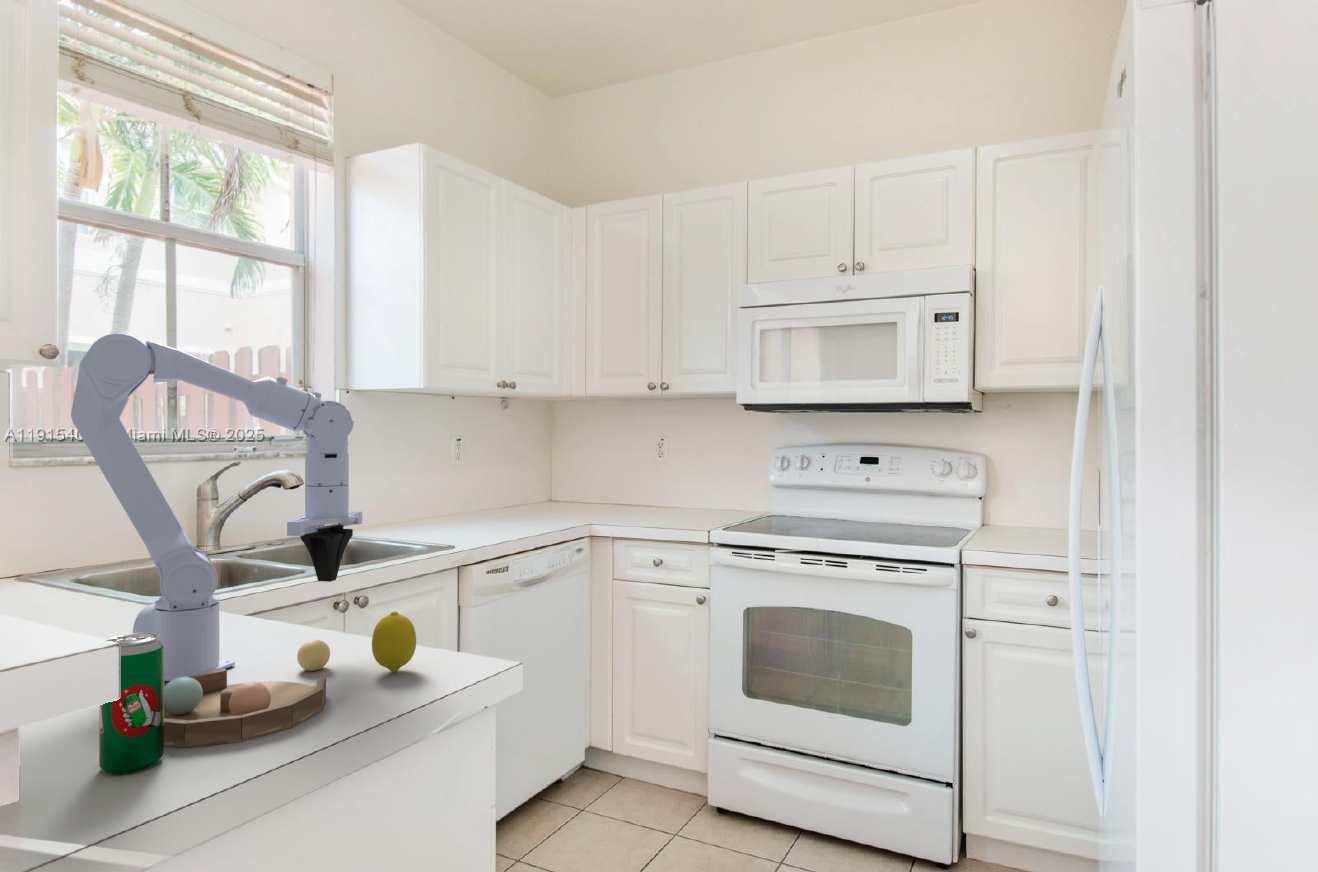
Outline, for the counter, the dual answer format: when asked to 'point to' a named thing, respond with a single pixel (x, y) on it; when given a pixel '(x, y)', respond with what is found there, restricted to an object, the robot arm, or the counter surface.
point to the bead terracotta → (249, 698)
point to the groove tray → (220, 726)
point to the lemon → (393, 641)
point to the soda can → (135, 708)
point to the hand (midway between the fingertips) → (326, 580)
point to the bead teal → (182, 695)
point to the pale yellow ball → (313, 655)
